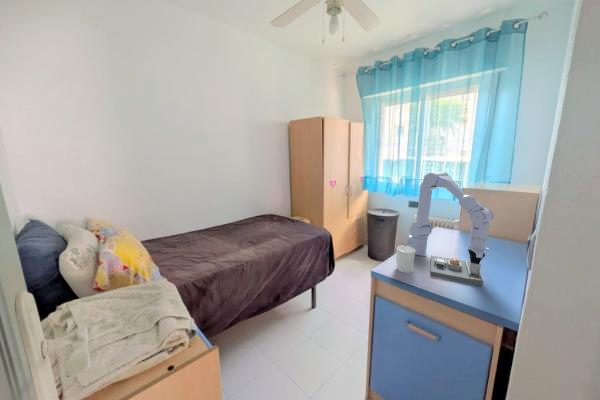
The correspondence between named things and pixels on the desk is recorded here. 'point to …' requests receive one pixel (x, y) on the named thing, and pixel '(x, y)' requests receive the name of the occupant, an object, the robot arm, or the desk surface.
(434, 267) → the panel
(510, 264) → the desk surface
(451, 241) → the desk surface
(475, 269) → the grey boxy piece
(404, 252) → the white cup
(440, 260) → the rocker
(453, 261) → the push button
